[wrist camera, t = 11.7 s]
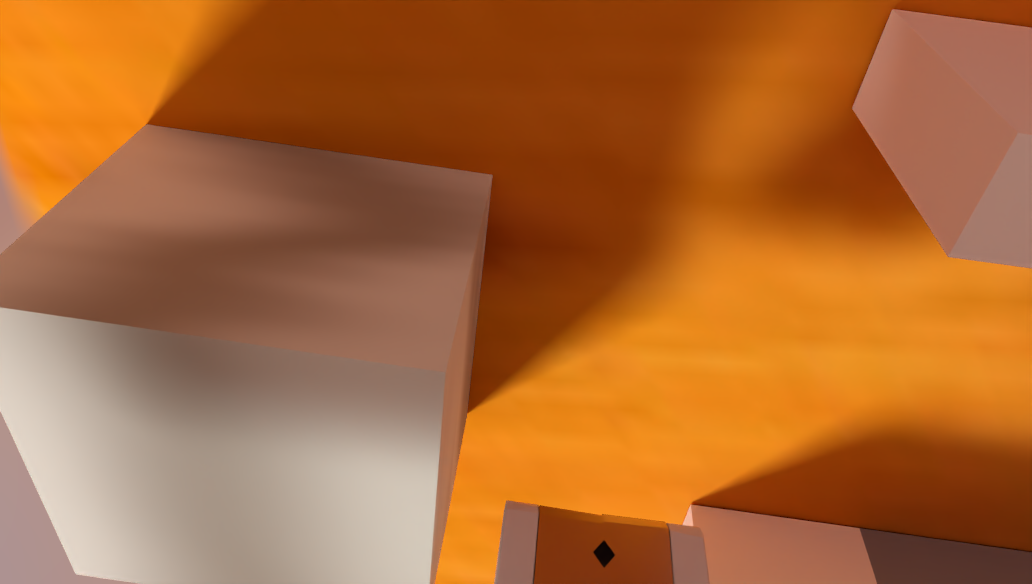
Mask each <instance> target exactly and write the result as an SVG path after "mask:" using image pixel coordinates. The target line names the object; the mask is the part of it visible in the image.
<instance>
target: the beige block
mask: <svg viewBox="0 0 1032 584" xmlns="http://www.w3.org/2000/svg"><path fill="white" fill-rule="evenodd" d="M492 177H493V175H491V174H484V173H477V172H470V171H464V170H457V169H450V168H443V167H436V166H429V165H423V164H416V163H409V162H402V161H395V160H388V159H381V158H375V157H368V156H361V155H354V154H347V153H340V152H333V151H327V150H320V149H313V148H306V147H299V146H292V145H286V144H279V143H272V142H265V141H258V140H251V139H244V138H238V137H231V136H224V135H217V134H210V133H203V132H197V131H190V130H183V129H176V128H169V127H162V126H155V125H149V124H146V125H145V126H144V127H143V128H142V129H140V130H139V131H138V132H137V133H136V134H135V135H134V136H133V137H132V138H130V139H129V140H128V141H127V142H126V143H125V144H124V145H123V146H121V147H120V148H119V149H118V150H117V151H116V152H115V153H114V154H112V155H111V156H110V157H109V158H108V159H107V160H106V161H105V162H103V163H102V164H101V165H100V166H99V167H98V168H97V169H96V170H94V171H93V172H92V173H91V174H90V175H89V176H88V177H87V178H85V179H84V180H83V181H82V182H81V183H80V184H79V185H78V186H77V187H75V188H74V189H73V190H72V191H71V192H70V193H69V194H68V195H66V196H65V197H64V198H63V199H62V200H61V201H60V202H59V203H57V204H56V205H55V206H54V207H53V208H52V209H51V210H50V211H48V212H47V213H46V214H45V215H44V216H43V217H42V218H41V219H39V220H38V221H37V222H36V223H35V224H34V225H33V226H32V227H30V228H29V229H28V230H27V231H26V232H25V233H24V234H23V235H22V236H20V237H19V238H18V239H17V240H16V241H15V242H14V243H13V244H11V245H10V246H9V247H8V248H7V249H6V250H5V251H4V252H3V253H2V254H0V411H1V413H2V415H3V418H4V420H5V422H6V424H7V426H8V428H9V431H10V433H11V435H12V437H13V439H14V441H15V444H16V445H17V448H18V450H19V452H20V454H21V457H22V459H23V461H24V463H25V465H26V467H27V469H28V472H29V474H30V476H31V478H32V480H33V483H34V485H35V487H36V489H37V491H38V493H39V496H40V498H41V500H42V502H43V504H44V506H45V509H46V511H47V513H48V515H49V517H50V519H51V522H52V524H53V526H54V528H55V530H56V532H57V534H58V537H59V539H60V541H61V543H62V546H63V548H64V550H65V552H66V554H67V556H68V558H69V561H70V563H71V565H72V567H73V569H74V572H75V574H78V575H85V576H92V577H98V578H105V579H112V580H119V581H126V582H133V583H140V584H435V578H436V573H437V568H438V563H439V558H440V552H441V547H442V542H443V537H444V532H445V526H446V521H447V516H448V511H449V506H450V501H451V495H452V490H453V485H454V480H455V475H456V469H457V464H458V459H459V454H460V449H461V444H462V438H463V433H464V428H465V423H466V418H467V412H468V402H469V393H470V383H471V374H472V365H473V355H474V346H475V336H476V327H477V318H478V308H479V299H480V290H481V280H482V271H483V261H484V252H485V243H486V233H487V224H488V214H489V205H490V196H491V186H492Z"/></svg>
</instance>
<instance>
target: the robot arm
mask: <svg viewBox="0 0 1032 584" xmlns="http://www.w3.org/2000/svg"><path fill="white" fill-rule="evenodd" d="M494 584H710V582H709V574H708V566H707V558H706V551H705V543H704V535H703V533H702V531H701V529H700V528H699V527H694V526H686V525H678V524H669V523H665V522H663V521H655V520H646V519H638V518H630V517H622V516H614V515H606V514H602V515H597V514H591V513H585V512H579V511H572V510H566V509H560V508H553V507H547V506H541V505H540V506H539V507H538V505H536V504H529V503H522V502H514V501H506V505H505V510H504V516H503V523H502V530H501V538H500V545H499V552H498V559H497V566H496V573H495V581H494Z"/></svg>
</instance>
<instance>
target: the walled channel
mask: <svg viewBox="0 0 1032 584" xmlns="http://www.w3.org/2000/svg"><path fill="white" fill-rule="evenodd" d="M852 109H853V111H854V112H855V114H856V115H857V117H858V119H859V120H860V122H861V123H862V125H863V126H864V128H865V129H866V131H867V132H868V134H869V136H870V137H871V139H872V140H873V142H874V143H875V145H876V146H877V148H878V149H879V151H880V153H881V154H882V156H883V157H884V159H885V160H886V162H887V163H888V165H889V166H890V168H891V170H892V171H893V173H894V174H895V176H896V177H897V179H898V180H899V182H900V183H901V185H902V187H903V188H904V190H905V191H906V193H907V194H908V196H909V197H910V199H911V200H912V202H913V204H914V205H915V207H916V208H917V210H918V211H919V213H920V214H921V216H922V217H923V219H924V221H925V222H926V224H927V225H928V227H929V228H930V230H931V231H932V233H933V234H934V236H935V238H936V239H937V241H938V242H939V244H940V245H941V247H942V248H943V250H944V251H945V253H946V255H947V256H948V257H953V258H960V259H968V260H975V261H982V262H990V263H997V264H1004V265H1011V266H1019V267H1026V268H1032V28H1031V27H1024V26H1016V25H1009V24H1001V23H994V22H986V21H979V20H972V19H964V18H957V17H949V16H942V15H934V14H927V13H919V12H912V11H904V10H897V9H892V11H891V13H890V16H889V18H888V21H887V23H886V26H885V28H884V31H883V33H882V35H881V38H880V40H879V43H878V45H877V48H876V50H875V53H874V55H873V58H872V60H871V63H870V65H869V67H868V70H867V72H866V75H865V77H864V80H863V82H862V85H861V87H860V90H859V92H858V94H857V97H856V99H855V102H854V104H853V107H852ZM683 525H686V526H694V527H699V528H700V529H701V531H702V533H703V535H704V543H705V551H706V558H707V566H708V574H709V582H710V584H1032V552H1026V551H1018V550H1011V549H1004V548H997V547H990V546H983V545H976V544H969V543H961V542H954V541H947V540H940V539H933V538H926V537H919V536H912V535H905V534H897V533H890V532H883V531H876V530H869V529H862V528H855V527H848V526H840V525H833V524H826V523H819V522H812V521H805V520H798V519H791V518H784V517H776V516H769V515H762V514H755V513H748V512H741V511H734V510H727V509H719V508H712V507H705V506H698V505H690V508H689V510H688V513H687V515H686V517H685V520H684V522H683Z"/></svg>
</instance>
